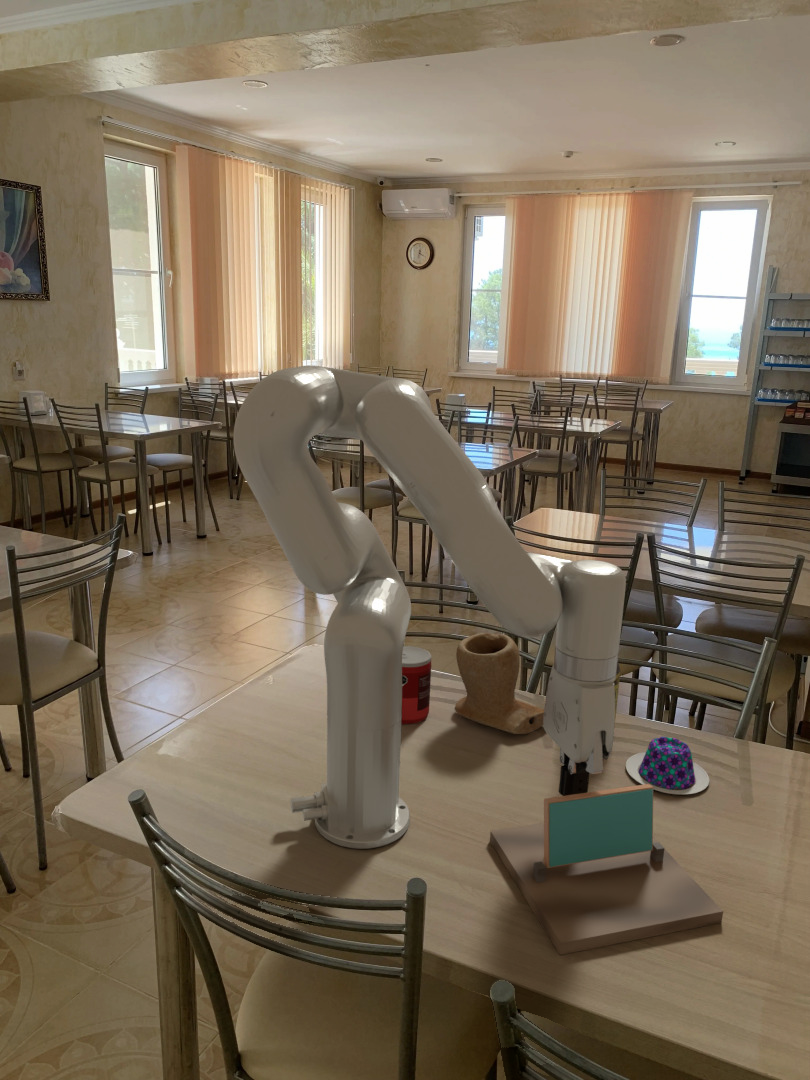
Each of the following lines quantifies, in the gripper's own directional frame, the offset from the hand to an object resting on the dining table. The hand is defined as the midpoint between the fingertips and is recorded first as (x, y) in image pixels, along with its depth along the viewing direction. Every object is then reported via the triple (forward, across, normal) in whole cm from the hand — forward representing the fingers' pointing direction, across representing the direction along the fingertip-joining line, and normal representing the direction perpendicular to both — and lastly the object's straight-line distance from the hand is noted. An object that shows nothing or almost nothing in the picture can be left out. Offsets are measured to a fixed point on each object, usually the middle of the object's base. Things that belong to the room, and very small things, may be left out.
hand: (572, 795), depth 102 cm
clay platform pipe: (+7, -32, +3) cm, 33 cm away
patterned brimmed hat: (+7, -11, +22) cm, 26 cm away
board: (+7, +8, 0) cm, 10 cm away
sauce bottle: (+7, -24, +17) cm, 30 cm away
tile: (0, +6, 0) cm, 6 cm away
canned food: (+7, -38, -11) cm, 40 cm away
